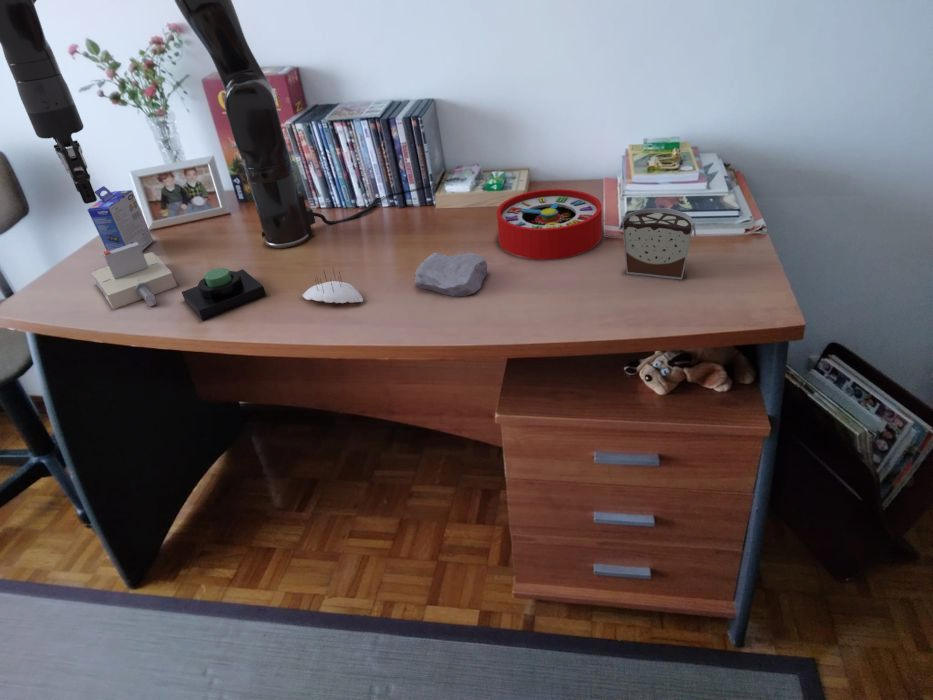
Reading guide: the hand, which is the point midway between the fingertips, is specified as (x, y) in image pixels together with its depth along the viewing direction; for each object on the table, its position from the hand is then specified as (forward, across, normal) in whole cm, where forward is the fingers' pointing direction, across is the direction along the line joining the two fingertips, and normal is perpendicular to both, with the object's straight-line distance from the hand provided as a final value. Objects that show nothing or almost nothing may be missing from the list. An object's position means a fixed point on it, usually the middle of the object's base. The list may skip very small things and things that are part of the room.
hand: (87, 196), depth 123 cm
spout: (+18, -11, -3) cm, 22 cm away
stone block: (+18, -46, -48) cm, 69 cm away
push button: (+15, -21, -14) cm, 29 cm away
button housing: (+18, -21, -14) cm, 31 cm away
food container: (+18, -67, -77) cm, 104 cm away
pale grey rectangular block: (+16, -2, -2) cm, 16 cm away
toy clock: (+18, -44, -73) cm, 86 cm away
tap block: (+19, -2, -2) cm, 19 cm away
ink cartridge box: (+19, +18, -5) cm, 26 cm away
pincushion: (+18, -36, -29) cm, 50 cm away
